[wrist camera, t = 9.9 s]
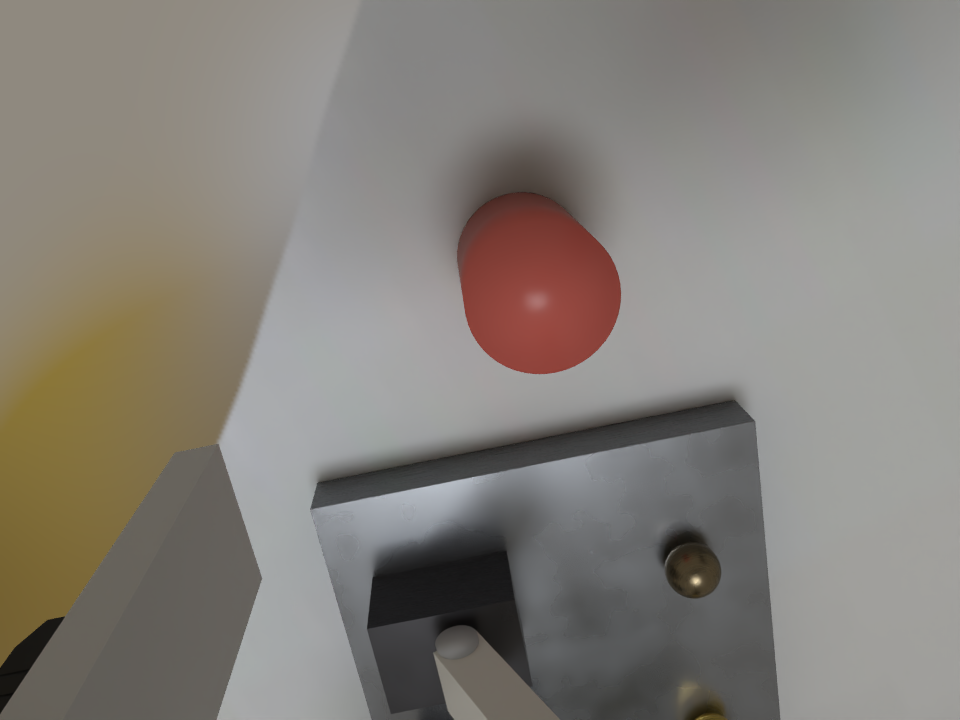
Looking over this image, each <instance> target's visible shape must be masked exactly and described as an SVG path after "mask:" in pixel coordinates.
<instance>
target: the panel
mask: <svg viewBox="0 0 960 720" xmlns="http://www.w3.org/2000/svg"><path fill="white" fill-rule="evenodd" d="M310 510H311V514H312V517H313V521H314V524H315V527H316V531H317V534H318V538H319V541H320V544H321V548H322V551H323V555H324V558H325V561H326V565H327V568H328V572H329V575H330V578H331V582H332V585H333V589H334V592H335V596H336V599H337V602H338V606H339V609H340V613H341V616H342V619H343V623H344V626H345V630H346V633H347V636H348V640H349V643H350V647H351V650H352V654H353V657H354V660H355V664H356V667H357V671H358V674H359V677H360V681H361V684H362V688H363V691H364V694H365V698H366V701H367V705H368V708H369V711H370V715H371V718H372V720H454V718H453V717H452V716H451V714H450V713H449V712H448V709H447V705H446V701H445V697H444V693H443V689H442V685H441V681H440V678H439V674H438V670H437V666H436V662H435V658H434V654H433V652H435V651H437V650H436V646H435V641H436V639H437V637H438V636H439V634H440V633H442V632H443V631H444V630H446V629H448V628H450V627H453V626H458V625H466V626H470V627H472V628H474V629H475V630H476V631H477V632H478V633H479V634H480V635H481V636H482V637H483V638H484V639H485V640H486V641H487V642H488V644H489V645H490V646H491V647H492V648H493V649H494V650H495V651H496V652H497V653H498V654H499V655H500V656H501V657H502V658H503V659H504V661H505V662H506V663H507V664H508V665H509V666H510V667H511V668H512V669H513V670H514V671H515V672H516V673H517V674H518V675H519V676H520V678H521V679H522V680H523V681H524V682H525V683H526V684H527V685H528V686H529V687H530V688H531V689H532V690H533V691H534V692H535V693H536V695H537V696H538V697H539V698H540V699H541V700H542V701H543V702H544V703H545V704H546V705H547V706H548V707H549V708H550V709H551V710H552V712H553V713H554V714H555V715H556V716H557V717H558V718H559V719H560V720H780V711H779V699H778V687H777V675H776V663H775V651H774V640H773V628H772V616H771V604H770V592H769V580H768V568H767V556H766V545H765V533H764V521H763V509H762V497H761V485H760V473H759V461H758V449H757V438H756V426H755V421H754V420H753V419H752V418H751V416H750V415H749V414H748V413H747V412H746V411H745V410H744V409H743V408H742V407H741V406H740V405H739V404H738V403H737V402H736V401H735V400H734V401H729V402H724V403H719V404H714V405H709V406H704V407H699V408H694V409H689V410H684V411H679V412H674V413H669V414H664V415H659V416H654V417H649V418H644V419H638V420H633V421H628V422H623V423H618V424H613V425H608V426H603V427H598V428H593V429H588V430H583V431H578V432H573V433H568V434H563V435H558V436H553V437H548V438H543V439H538V440H533V441H528V442H523V443H518V444H513V445H507V446H502V447H497V448H492V449H487V450H482V451H477V452H472V453H467V454H462V455H457V456H452V457H447V458H442V459H437V460H432V461H427V462H422V463H417V464H412V465H407V466H402V467H397V468H392V469H387V470H381V471H376V472H371V473H366V474H361V475H356V476H351V477H346V478H341V479H336V480H331V481H326V482H321V483H317V487H316V490H315V494H314V498H313V501H312V505H311V509H310Z"/></svg>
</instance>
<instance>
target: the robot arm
mask: <svg viewBox="0 0 960 720" xmlns="http://www.w3.org/2000/svg"><path fill="white" fill-rule="evenodd" d="M261 580H262V577H261V574H260V570H259V567H258V564H257V561H256V558H255V555H254V552H253V549H252V546H251V543H250V540H249V537H248V533H247V530H246V527H245V524H244V521H243V518H242V515H241V512H240V509H239V506H238V503H237V500H236V496H235V493H234V490H233V487H232V484H231V481H230V478H229V475H228V472H227V469H226V466H225V463H224V459H223V456H222V453H221V450H220V447H219V444H216V445H211V446H206V447H201V448H196V449H191V450H186V451H181V452H176V453H174V455H173V456H172V458H171V459H170V461H169V462H168V464H167V465H166V467H165V468H164V470H163V471H162V473H161V474H160V476H159V477H158V479H157V480H156V482H155V483H154V485H153V486H152V488H151V489H150V491H149V492H148V494H147V495H146V497H145V498H144V500H143V501H142V503H141V504H140V506H139V507H138V509H137V510H136V512H135V513H134V515H133V516H132V518H131V519H130V521H129V522H128V524H127V525H126V527H125V528H124V530H123V531H122V533H121V534H120V536H119V537H118V539H117V540H116V542H115V543H114V545H113V546H112V548H111V549H110V551H109V552H108V554H107V555H106V557H105V558H104V559H103V561H102V563H101V564H100V565H99V567H98V569H97V570H96V571H95V573H94V575H93V576H92V578H91V579H90V580H89V582H88V584H87V585H86V586H85V588H84V589H83V591H82V593H81V594H80V595H79V597H78V598H77V600H76V601H75V603H74V604H73V606H72V608H71V609H70V610H69V612H68V613H67V615H66V616H65V617H61V618H55V619H50V620H47V621H46V622H45V623H43V624H42V625H41V626H40V627H39V628H37V629H36V630H35V631H34V632H33V633H32V634H30V635H29V636H28V637H27V638H26V639H24V640H23V641H22V642H21V643H20V644H19V645H17V646H16V647H15V648H14V650H13V651H12V652H11V654H10V655H9V656H8V658H7V659H6V661H5V662H4V663H3V665H2V666H1V668H0V720H216V719H217V716H218V713H219V710H220V707H221V704H222V701H223V697H224V694H225V691H226V688H227V685H228V682H229V679H230V676H231V673H232V670H233V666H234V663H235V660H236V657H237V654H238V651H239V648H240V645H241V642H242V639H243V636H244V632H245V629H246V626H247V623H248V620H249V617H250V614H251V611H252V608H253V605H254V601H255V598H256V595H257V592H258V589H259V586H260V583H261Z"/></svg>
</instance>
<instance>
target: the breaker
mask: <svg viewBox="0 0 960 720" xmlns="http://www.w3.org/2000/svg"><path fill="white" fill-rule="evenodd" d="M435 646H436V650H437V651H435V652H433V654H434V658H435V662H436V666H437V670H438V674H439V678H440V681H441V685H442V689H443V693H444V697H445V701H446V705H447V709H448V712H449V713H450V714H451V716H452V717H453V718H454V720H560V719H559V718H558V717H557V716H556V715H555V714H554V713H553V712H552V710H551V709H550V708H549V707H548V706H547V705H546V704H545V703H544V702H543V701H542V700H541V699H540V698H539V697H538V696H537V695H536V693H535V692H534V691H533V690H532V689H531V688H530V687H529V686H528V685H527V684H526V683H525V682H524V681H523V680H522V679H521V678H520V676H519V675H518V674H517V673H516V672H515V671H514V670H513V669H512V668H511V667H510V666H509V665H508V664H507V663H506V662H505V661H504V659H503V658H502V657H501V656H500V655H499V654H498V653H497V652H496V651H495V650H494V649H493V648H492V647H491V646H490V645H489V644H488V642H487V641H486V640H485V639H484V638H483V637H482V636H481V635H480V634H479V633H478V632H477V631H476V630H475V629H474V628H472V627H470V626H466V625H458V626H453V627H450V628H448V629H446V630H444V631H443V632H442V633H440V634H439V636H438V637H437V639H436V641H435Z"/></svg>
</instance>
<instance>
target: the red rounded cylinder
mask: <svg viewBox="0 0 960 720" xmlns="http://www.w3.org/2000/svg"><path fill="white" fill-rule="evenodd" d="M457 262H458V269H459V275H460V282H461V288H462V295H463V301H464V307H465V314H466V318H467V322H468V325H469V328H470V330H471V332H472V334H473V336H474V338H475V339H476V341H477V343H478V344H479V345H480V346H481V348H482V349H483V350H484V351H485V352H486V353H487V354H488V355H489V356H490V357H492V358H493V359H494V360H496V361H497V362H499V363H500V364H502V365H504V366H506V367H508V368H511V369H513V370H516V371H520V372H524V373H531V374H548V373H555V372H559V371H563V370H566V369H569V368H571V367H574V366H576V365H577V364H579V363H581V362H583V361H584V360H586V359H587V358H589V357H590V356H591V355H592V354H594V353H595V352H596V351H597V350H598V349H599V348H600V347H601V345H602V344H603V343H604V342H605V341H606V339H607V338H608V336H609V335H610V333H611V331H612V329H613V327H614V325H615V323H616V320H617V317H618V314H619V309H620V302H621V287H620V281H619V276H618V273H617V270H616V267H615V264H614V263H613V261H612V259H611V257H610V255H609V254H608V252H607V251H606V250H605V248H604V247H603V246H602V245H601V244H600V243H599V242H598V241H597V240H596V239H595V238H594V237H593V236H592V235H591V234H590V233H589V232H588V231H587V230H586V229H585V228H584V227H583V226H581V225H580V224H579V223H578V222H577V221H576V220H575V219H574V218H573V217H572V216H571V215H570V214H569V213H568V212H567V211H566V210H565V209H564V208H563V207H561V206H560V205H559V204H558V203H556V202H554V201H553V200H551V199H549V198H547V197H544V196H542V195H538V194H534V193H527V192H517V193H509V194H506V195H502V196H499V197H497V198H494V199H492V200H491V201H489V202H487V203H486V204H484V205H483V206H482V207H480V208H479V209H478V210H477V211H476V212H475V213H474V214H473V215H472V217H471V218H470V219H469V221H468V222H467V224H466V225H465V227H464V229H463V232H462V234H461V236H460V240H459V244H458V251H457Z"/></svg>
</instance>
